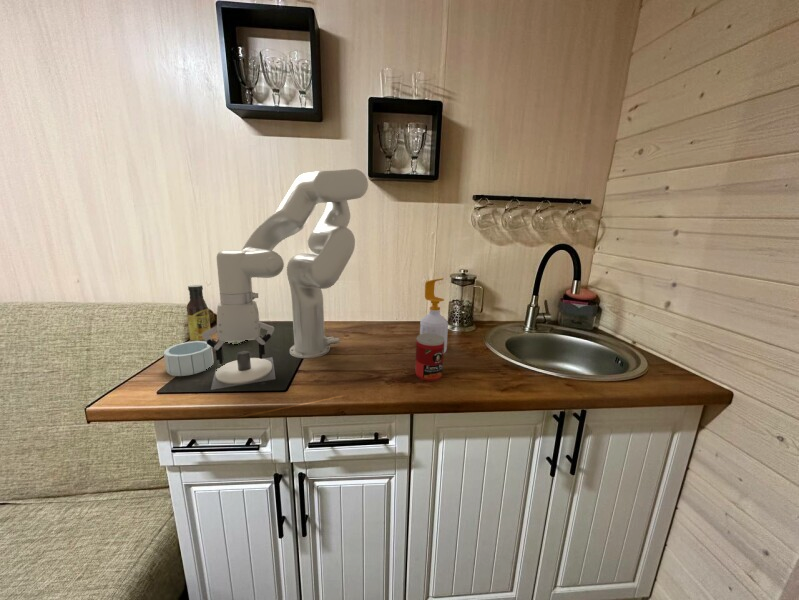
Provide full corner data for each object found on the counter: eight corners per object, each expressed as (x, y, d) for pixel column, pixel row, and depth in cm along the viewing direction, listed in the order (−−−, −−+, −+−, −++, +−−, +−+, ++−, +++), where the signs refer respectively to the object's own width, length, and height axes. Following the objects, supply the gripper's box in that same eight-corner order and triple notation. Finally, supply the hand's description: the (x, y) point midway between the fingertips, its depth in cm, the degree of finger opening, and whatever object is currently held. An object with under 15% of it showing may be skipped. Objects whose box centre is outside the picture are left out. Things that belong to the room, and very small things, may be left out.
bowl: (215, 357, 97) (213, 339, 96) (211, 372, 88) (208, 352, 86) (172, 363, 93) (169, 344, 91) (163, 379, 83) (159, 358, 82)
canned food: (424, 384, 84) (426, 345, 81) (409, 371, 91) (411, 335, 88) (448, 378, 87) (450, 340, 85) (432, 366, 94) (434, 331, 92)
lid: (270, 358, 97) (269, 341, 96) (273, 378, 84) (272, 359, 83) (218, 365, 91) (216, 347, 90) (213, 388, 79) (210, 367, 77)
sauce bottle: (202, 347, 105) (194, 288, 100) (185, 345, 106) (177, 287, 102) (216, 340, 111) (210, 284, 107) (201, 338, 112) (194, 283, 108)
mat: (272, 358, 98) (272, 357, 97) (275, 380, 84) (275, 378, 84) (216, 366, 92) (216, 365, 91) (210, 391, 78) (210, 389, 78)
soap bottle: (433, 358, 100) (437, 281, 94) (413, 349, 107) (416, 277, 101) (452, 351, 106) (456, 278, 100) (432, 343, 113) (435, 274, 107)
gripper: (271, 293, 90) (274, 350, 93) (200, 297, 83) (206, 358, 86) (273, 299, 83) (276, 360, 87) (195, 303, 76) (203, 370, 80)
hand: (241, 359), depth 87 cm, fingers open, 9 cm apart
